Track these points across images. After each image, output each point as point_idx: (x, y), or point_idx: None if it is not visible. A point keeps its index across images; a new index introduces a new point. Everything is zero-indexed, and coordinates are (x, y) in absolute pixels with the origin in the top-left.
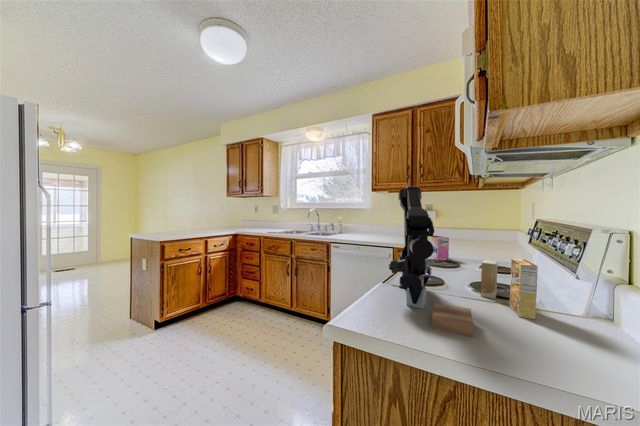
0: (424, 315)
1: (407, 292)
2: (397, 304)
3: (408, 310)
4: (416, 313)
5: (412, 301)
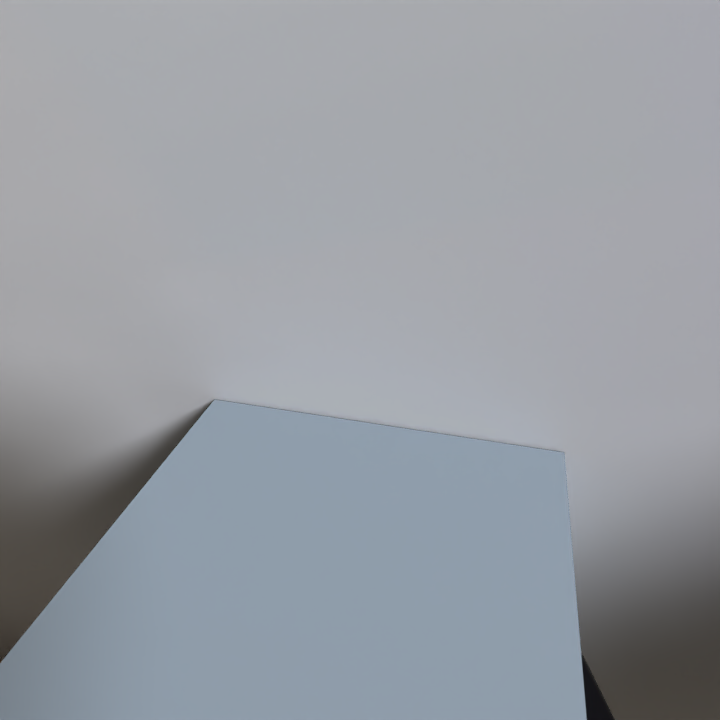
0: (36, 605)
1: (21, 663)
2: (123, 224)
3: (19, 440)
4: (14, 533)
5: None
